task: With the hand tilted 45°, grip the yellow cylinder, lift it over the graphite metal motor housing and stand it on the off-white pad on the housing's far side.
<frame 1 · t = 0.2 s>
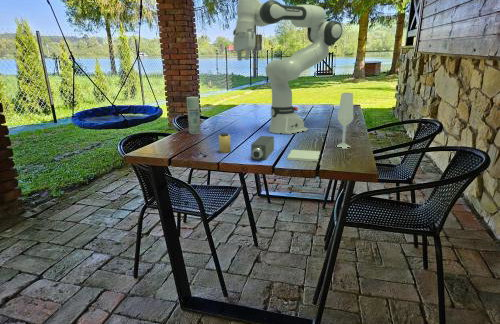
hand: (242, 60, 153), 39 cm above the table, tool pointing down, fingers open, 8 cm apart
far side pad: (304, 156, 127), on the table
motor housing: (263, 153, 131), on the table
champagne flute: (343, 147, 141), on the table
spray can: (195, 133, 174), on the table
yellow cylinder: (225, 151, 136), on the table
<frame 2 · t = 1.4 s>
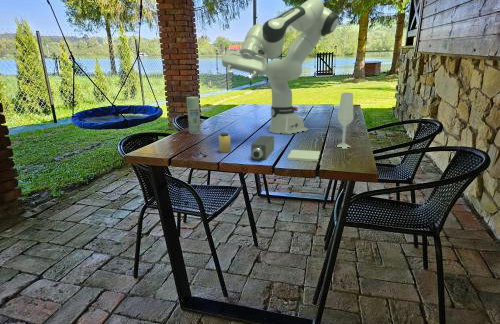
hand: (239, 77, 134), 31 cm above the table, tool tilted 45°, fingers open, 8 cm apart
nothing on the table moved.
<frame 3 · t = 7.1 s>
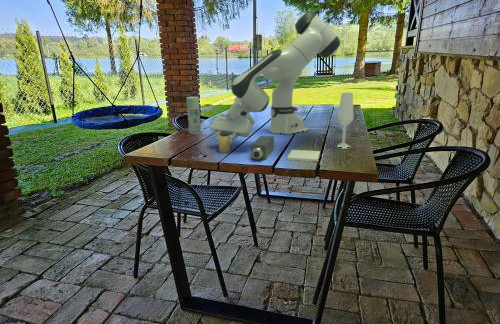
hand: (223, 141, 134), 5 cm above the table, tool tilted 45°, fingers closed on yellow cylinder, 5 cm apart
yellow cylinder: (225, 151, 136), on the table, touching gripper
everything else where it was.
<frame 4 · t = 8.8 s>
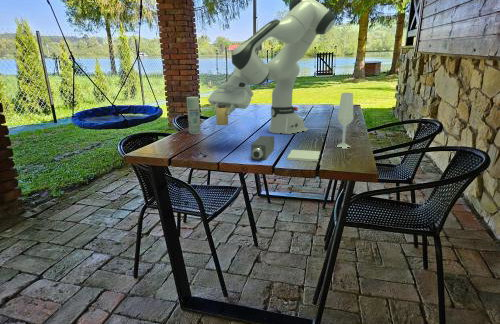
hand: (221, 113, 131), 17 cm above the table, tool tilted 45°, fingers closed on yellow cylinder, 5 cm apart
yellow cylinder: (222, 124, 133), point 12 cm above the table, touching gripper
everything else where it was.
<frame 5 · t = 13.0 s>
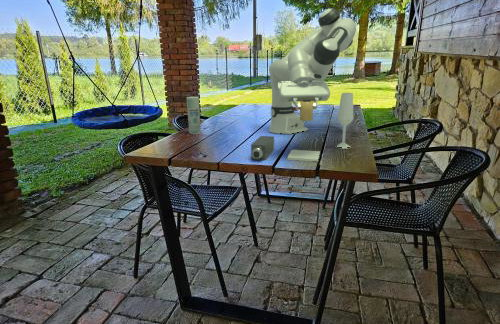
hand: (306, 108, 120), 20 cm above the table, tool tilted 45°, fingers closed on yellow cylinder, 5 cm apart
yellow cylinder: (306, 119, 122), point 15 cm above the table, touching gripper
everything else where it was.
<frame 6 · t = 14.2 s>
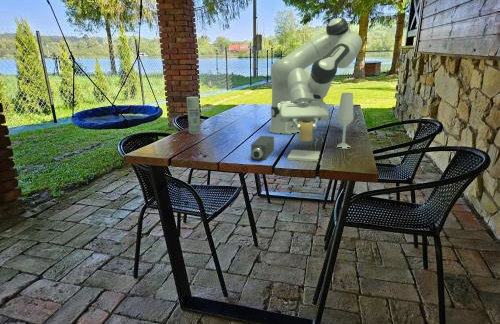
hand: (306, 128, 123), 12 cm above the table, tool tilted 45°, fingers closed on yellow cylinder, 5 cm apart
yellow cylinder: (305, 139, 124), point 7 cm above the table, touching gripper
everything else where it was.
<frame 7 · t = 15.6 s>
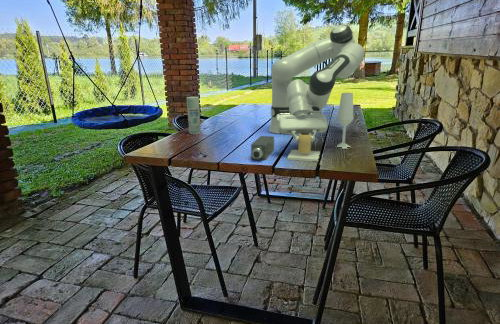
hand: (305, 140, 124), 7 cm above the table, tool tilted 45°, fingers closed on yellow cylinder, 5 cm apart
yellow cylinder: (304, 151, 126), point 2 cm above the table, touching gripper
everything else where it was.
when the fingers open (7 cm above the table, at t = 15.6 s): yellow cylinder drops 1 cm, resting on far side pad.
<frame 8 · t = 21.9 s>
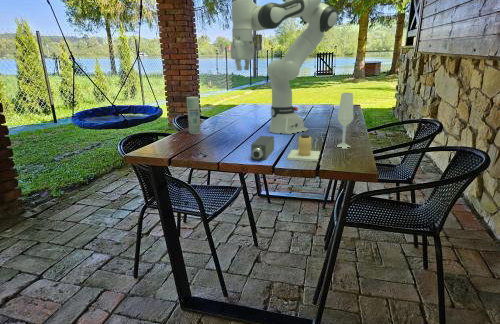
hand: (243, 70, 140), 34 cm above the table, tool pointing down, fingers open, 8 cm apart
yellow cylinder: (304, 154, 126), point 1 cm above the table, touching far side pad
everything else where it was.
at the end: yellow cylinder inside the target area on the far side pad (0.1 cm from its centre), point 1.0 cm above the far side pad's base; yellow cylinder tilted 0°; the gripper is holding nothing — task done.
